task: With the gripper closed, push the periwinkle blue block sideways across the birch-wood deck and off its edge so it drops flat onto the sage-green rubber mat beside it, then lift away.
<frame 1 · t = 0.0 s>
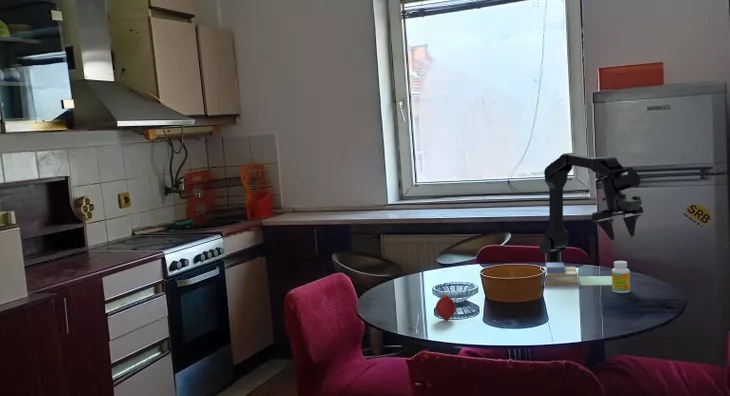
hand: (622, 238, 236), 15 cm above the table, tool pointing down, fingers open, 9 cm apart
periwinkle blue block: (555, 270, 245), point 4 cm above the table, touching deck
mat: (597, 281, 242), on the table
deck: (558, 281, 245), on the table
onion: (446, 320, 206), on the table
supplement bottle: (621, 291, 227), on the table
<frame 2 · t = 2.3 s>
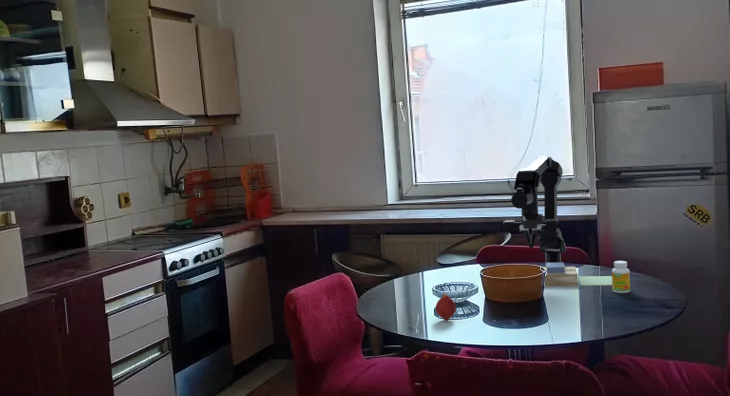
hand: (531, 248, 246), 12 cm above the table, tool pointing down, fingers closed
nothing on the table moved.
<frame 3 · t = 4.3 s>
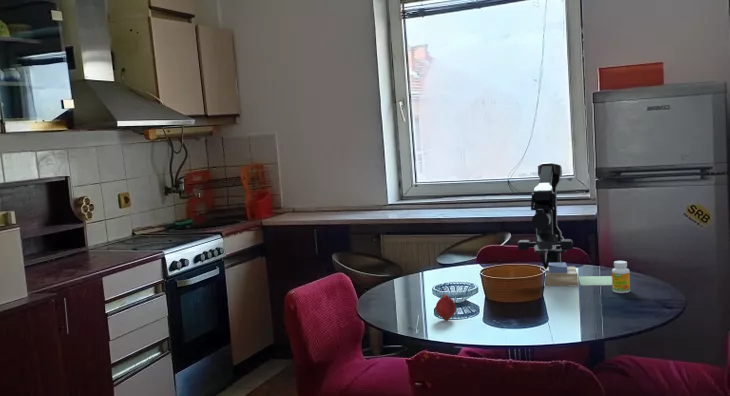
hand: (545, 268, 246), 5 cm above the table, tool pointing down, fingers closed
nothing on the table moved.
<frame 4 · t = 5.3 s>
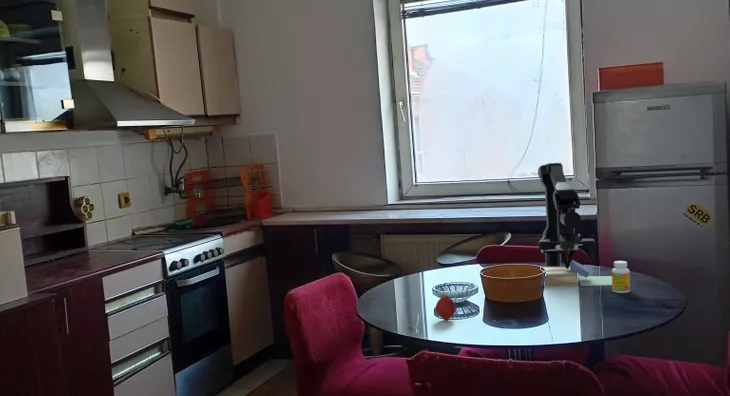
hand: (567, 268, 244), 5 cm above the table, tool pointing down, fingers closed
periwinkle blue block: (577, 271, 243), point 4 cm above the table, tilted 30°, touching deck
everything else where it was.
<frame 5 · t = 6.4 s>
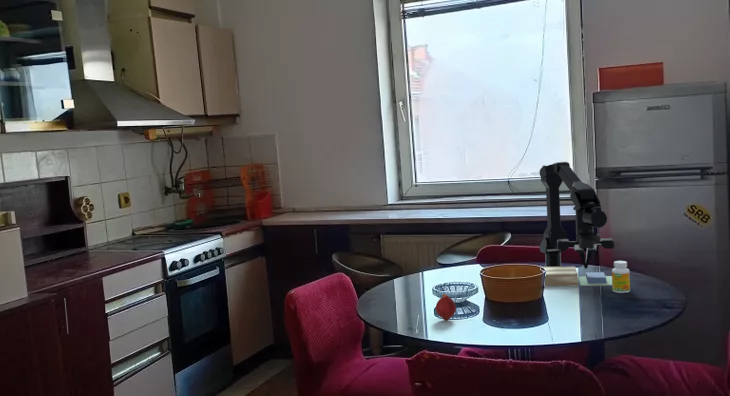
hand: (585, 268, 242), 5 cm above the table, tool pointing down, fingers closed
periwinkle blue block: (595, 274, 242), point 2 cm above the table, tilted 180°, touching mat
everything else where it was.
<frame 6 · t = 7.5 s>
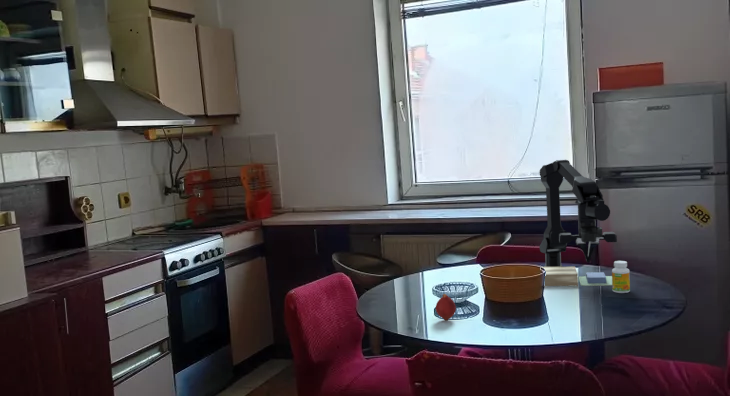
hand: (588, 262, 242), 7 cm above the table, tool pointing down, fingers closed
nothing on the table moved.
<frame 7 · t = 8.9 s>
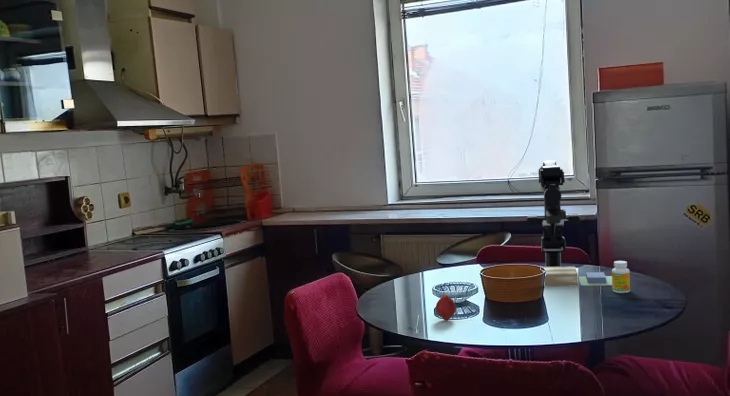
hand: (553, 243, 253), 12 cm above the table, tool pointing down, fingers closed
nothing on the table moved.
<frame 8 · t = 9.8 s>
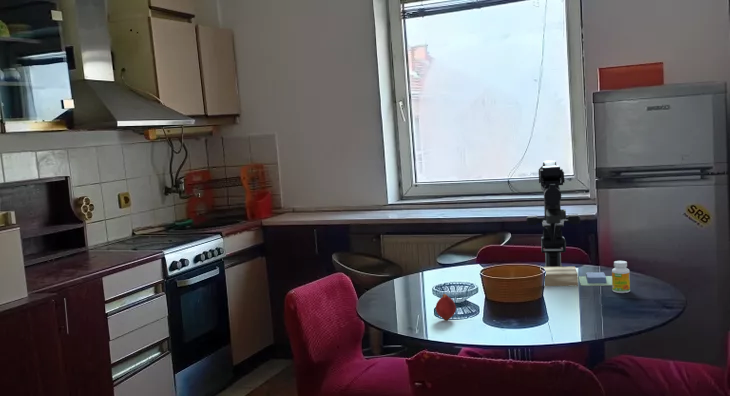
hand: (553, 243, 253), 12 cm above the table, tool pointing down, fingers closed
nothing on the table moved.
at the end: periwinkle blue block inside the target area (1.0 cm from its centre), point 2.3 cm above the table; periwinkle blue block touching mat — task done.
